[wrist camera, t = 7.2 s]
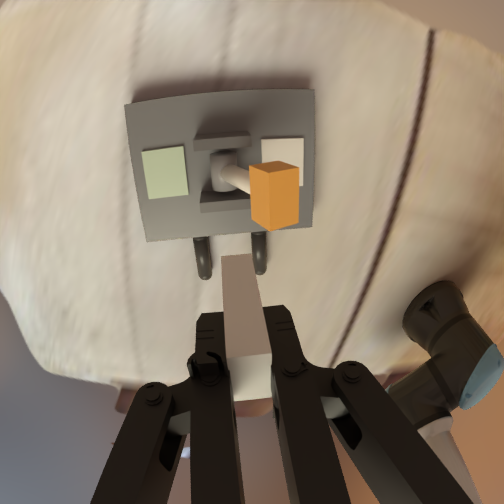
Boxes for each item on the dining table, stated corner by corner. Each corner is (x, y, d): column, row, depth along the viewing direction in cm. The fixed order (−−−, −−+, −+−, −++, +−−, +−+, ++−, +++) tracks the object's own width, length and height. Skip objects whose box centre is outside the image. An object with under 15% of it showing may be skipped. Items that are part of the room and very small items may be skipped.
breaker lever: (229, 145, 34) (299, 167, 24) (231, 185, 37) (298, 222, 27) (205, 149, 33) (268, 173, 23) (208, 190, 35) (269, 231, 25)
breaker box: (307, 89, 34) (325, 89, 28) (304, 265, 47) (316, 293, 41) (130, 103, 33) (113, 106, 26) (161, 279, 46) (154, 308, 40)
